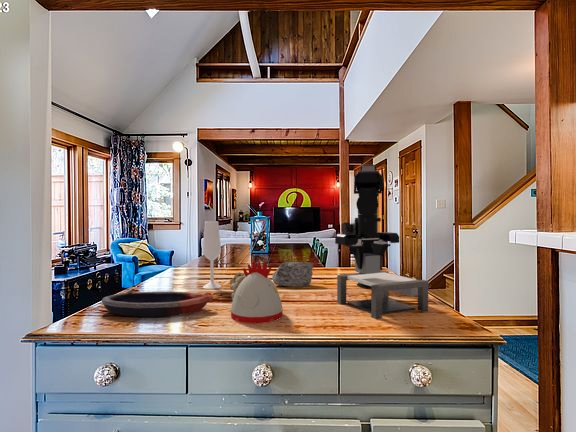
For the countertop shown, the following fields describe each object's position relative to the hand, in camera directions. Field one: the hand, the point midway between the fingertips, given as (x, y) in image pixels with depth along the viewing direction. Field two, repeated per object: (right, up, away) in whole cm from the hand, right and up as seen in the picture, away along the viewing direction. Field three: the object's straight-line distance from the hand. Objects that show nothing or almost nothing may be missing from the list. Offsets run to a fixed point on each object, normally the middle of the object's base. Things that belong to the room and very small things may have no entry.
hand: (367, 268), depth 113 cm
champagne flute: (-51, -11, +30) cm, 60 cm away
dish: (-60, -12, -2) cm, 61 cm away
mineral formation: (-36, -12, +15) cm, 41 cm away
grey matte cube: (0, -1, 0) cm, 1 cm away
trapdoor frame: (+4, -12, +2) cm, 12 cm away
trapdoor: (+6, -8, +2) cm, 10 cm away
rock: (-21, -11, +33) cm, 41 cm away
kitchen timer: (-31, -12, -7) cm, 34 cm away
